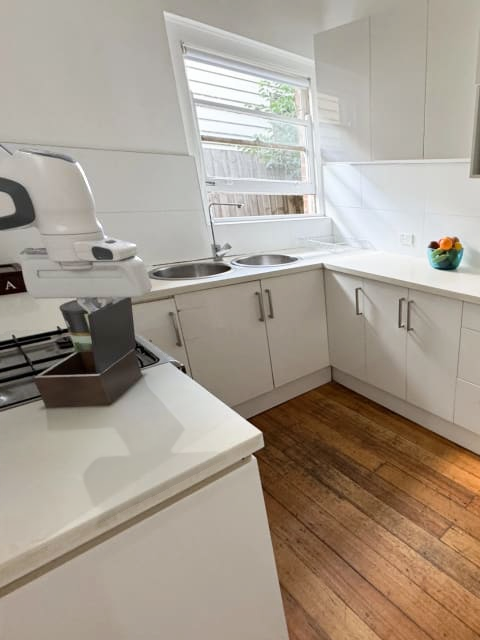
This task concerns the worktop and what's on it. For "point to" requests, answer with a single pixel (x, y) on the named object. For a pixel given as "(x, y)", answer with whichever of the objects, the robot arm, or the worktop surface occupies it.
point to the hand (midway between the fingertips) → (101, 318)
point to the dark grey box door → (112, 333)
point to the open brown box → (86, 380)
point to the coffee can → (78, 323)
